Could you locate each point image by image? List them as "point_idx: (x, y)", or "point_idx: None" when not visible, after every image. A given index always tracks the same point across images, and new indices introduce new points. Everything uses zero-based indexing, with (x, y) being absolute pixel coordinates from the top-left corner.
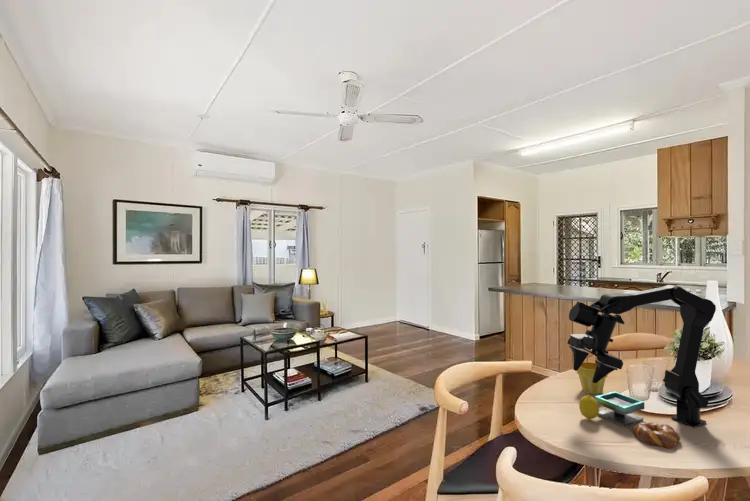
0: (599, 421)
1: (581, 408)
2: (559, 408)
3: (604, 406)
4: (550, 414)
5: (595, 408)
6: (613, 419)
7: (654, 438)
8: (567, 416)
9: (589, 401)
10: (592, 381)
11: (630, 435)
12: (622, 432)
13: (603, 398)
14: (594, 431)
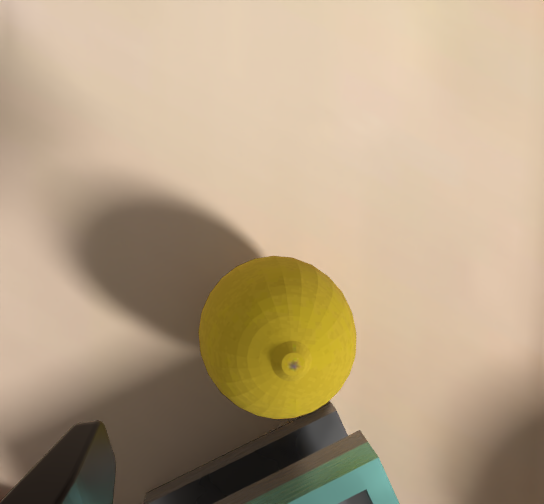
0: None
1: (259, 258)
2: (448, 182)
3: (284, 470)
4: (357, 65)
5: (204, 359)
6: (216, 468)
7: None
8: (320, 179)
9: (229, 330)
10: (94, 423)
11: None
12: None
13: None
14: (91, 258)
